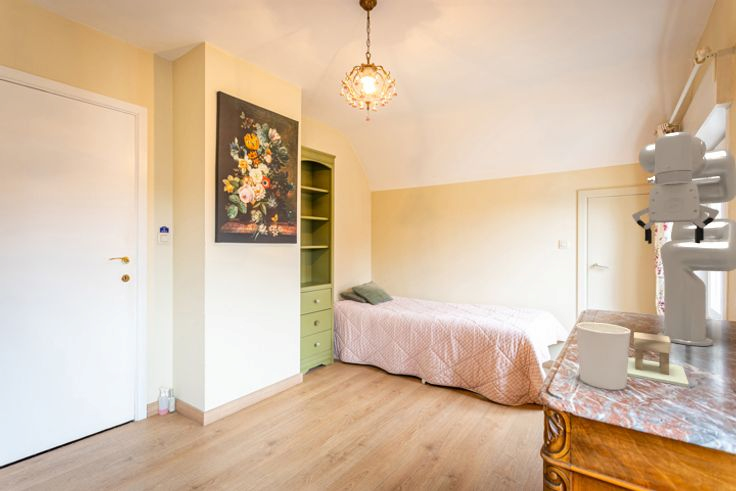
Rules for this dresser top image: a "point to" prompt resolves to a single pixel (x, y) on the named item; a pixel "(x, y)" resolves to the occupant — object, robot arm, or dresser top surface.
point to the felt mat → (658, 372)
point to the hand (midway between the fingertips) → (672, 243)
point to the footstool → (652, 349)
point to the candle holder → (603, 354)
